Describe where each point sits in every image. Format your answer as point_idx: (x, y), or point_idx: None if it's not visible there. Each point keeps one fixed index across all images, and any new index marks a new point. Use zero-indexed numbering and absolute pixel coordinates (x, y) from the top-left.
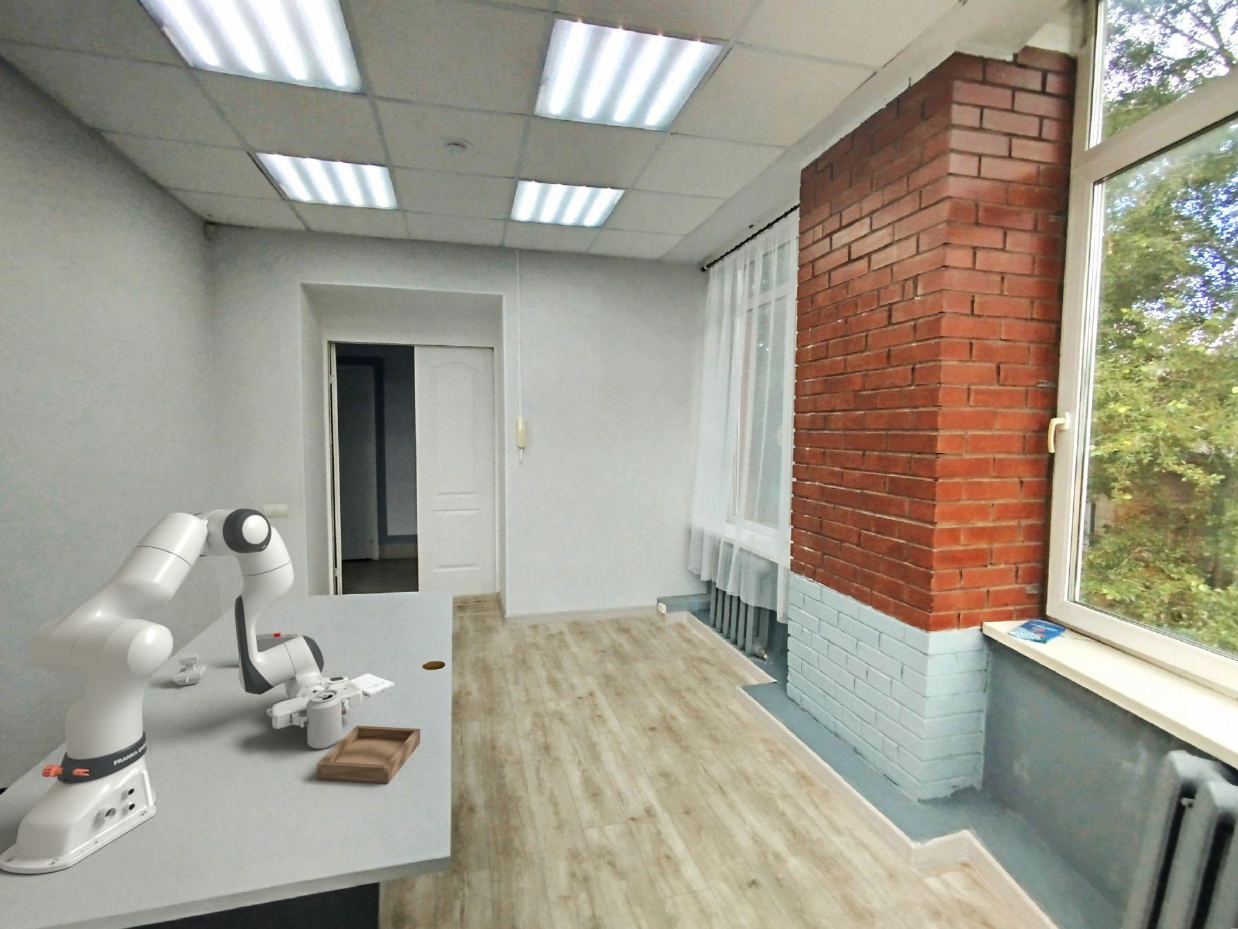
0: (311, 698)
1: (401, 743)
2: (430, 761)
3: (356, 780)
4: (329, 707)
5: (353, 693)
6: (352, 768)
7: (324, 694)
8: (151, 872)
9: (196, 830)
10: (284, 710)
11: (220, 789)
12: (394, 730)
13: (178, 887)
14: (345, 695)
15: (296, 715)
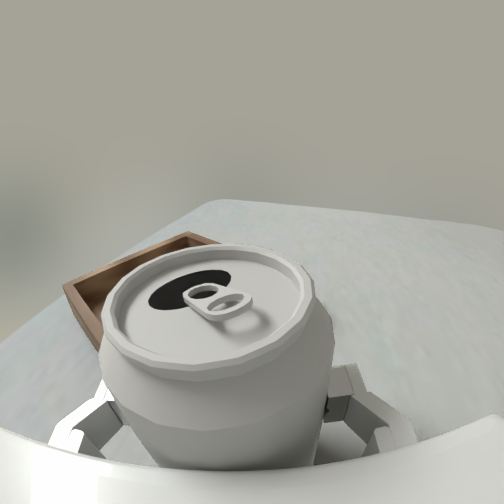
0: (300, 288)
1: (100, 311)
2: None
3: None
4: (213, 274)
5: (4, 435)
6: None
7: (194, 301)
8: (473, 241)
9: (469, 272)
10: (478, 458)
11: (499, 345)
12: (87, 306)
13: (433, 225)
14: (37, 452)
15: (389, 420)
